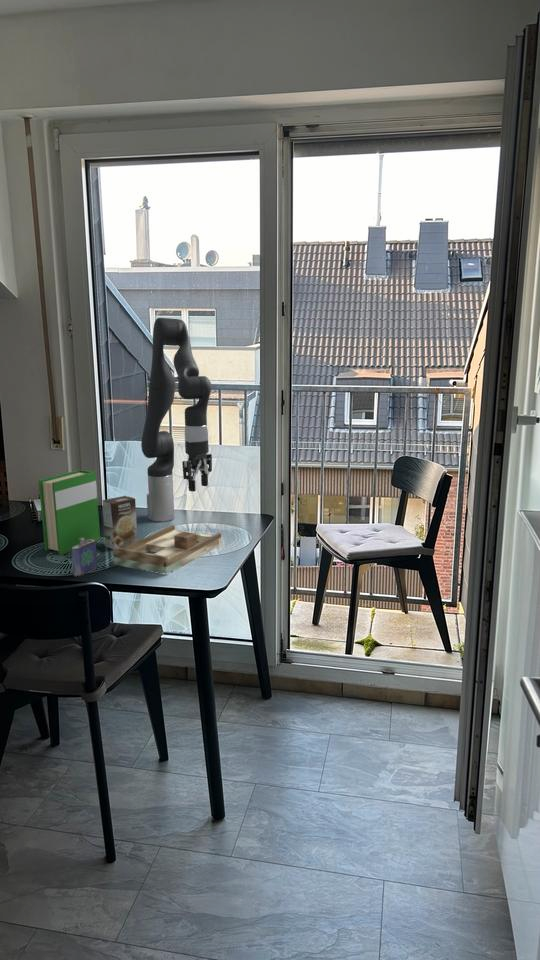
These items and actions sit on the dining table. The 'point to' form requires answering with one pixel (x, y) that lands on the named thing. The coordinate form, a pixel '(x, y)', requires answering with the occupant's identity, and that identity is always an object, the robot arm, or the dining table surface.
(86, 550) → the flask
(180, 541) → the walnut block
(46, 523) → the hardback book
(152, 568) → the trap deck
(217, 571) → the dining table surface
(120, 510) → the coffee box
